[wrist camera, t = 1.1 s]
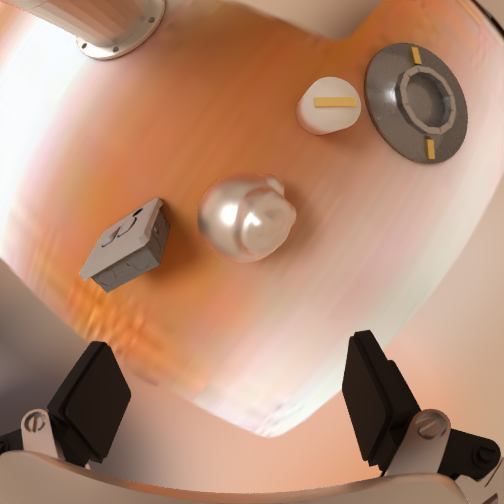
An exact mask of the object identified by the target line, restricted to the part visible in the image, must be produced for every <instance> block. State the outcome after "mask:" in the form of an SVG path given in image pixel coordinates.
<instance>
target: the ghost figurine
mask: <svg viewBox="0 0 504 504" xmlns="http://www.w3.org/2000/svg"><path fill="white" fill-rule="evenodd" d="M284 191H285V189H284V185H283V183H282V182H281V181H280V180H279V179H278V178H277V177H276V176H274V175H272V174H266V175H258V174H255V173H250V172H236V173H231V174H228V175H225V176H223V177H221V178H219V179H218V180H216V181H215V182H214V183H213V184H212V185H211V186H210V187H209V188H208V189H207V190H206V192H205V193H204V195H203V197H202V199H201V201H200V204H199V207H198V213H197V222H198V228H199V232H200V234H201V237H202V239H203V240H204V242H205V244H206V245H207V246H208V247H209V249H210V250H211V251H213V252H214V253H215V254H216V255H218V256H219V257H221V258H223V259H225V260H228V261H231V262H236V263H250V262H255V261H258V260H261V259H263V258H265V257H267V256H268V255H270V254H271V253H272V252H273V251H275V250H276V249H277V248H278V247H279V246H280V245H282V244H283V242H284V241H285V240H286V238H287V237H288V235H289V232H290V229H291V226H292V225H293V224H294V223H295V221H296V210H295V208H294V206H293V205H292V204H291V203H289V202H288V201H287V200H286V199H285V197H284Z"/></svg>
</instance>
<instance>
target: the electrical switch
mask: <svg viewBox="0 0 504 504" xmlns="http://www.w3.org/2000/svg"><path fill="white" fill-rule="evenodd" d="M162 205H163V202H162V201H161V200H160V199H159V198H155V199H153V200H152V201H150V202H148V203H147V204H145V205H143V206H142V207H140V208H139V209H137V210H135V211H134V212H132V213H131V214H129V215H128V216H126V217H124V218H123V219H121V220H120V221H118V222H117V223H115V224H114V225H112V226H111V227H109V228H108V229H107V230H105V231H104V232H103V233H102V235H101V236H100V238H99V240H98V241H97V243H96V245H95V246H94V248H93V250H92V252H91V253H90V255H89V257H88V259H87V260H86V262H85V264H84V266H83V268H82V270H81V271H80V275H81V277H82V278H83V279H84V281H85V280H87V279H89V278H90V277H91V278H93V280H94V281H95V282H96V283H97V284H99V285H100V286H101V287H102V288H103V289H104V290H105V291H106V292H107V293H108V292H110V291H111V290H113V289H115V288H117V287H119V286H121V285H123V284H124V283H126V282H128V281H130V280H132V279H134V278H136V277H138V276H140V275H141V274H143V273H145V272H147V271H149V270H151V269H153V268H155V267H157V266H159V265H160V264H161V260H162V256H163V252H164V248H165V244H166V240H167V236H168V232H169V228H170V225H169V224H168V223H167V221H166V220H165V218H164V216H163V214H162V213H161V211H160V210H159V208H160V207H162ZM157 233H158V234H157ZM154 257H155V258H156V259H157V260H156V259H155V258H154ZM123 261H124V262H123ZM159 263H160V264H159ZM116 272H117V273H116Z"/></svg>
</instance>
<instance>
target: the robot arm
mask: <svg viewBox="0 0 504 504" xmlns="http://www.w3.org/2000/svg"><path fill="white" fill-rule="evenodd" d="M0 2H3V3H6V4H9V5H12V6H14V7H16V8H19V9H21V10H24V11H26V12H28V13H30V14H33V15H35V16H37V17H39V18H41V19H44V20H46V21H48V22H50V23H52V24H54V25H56V26H58V27H60V28H62V29H64V30H66V31H68V32H70V33H71V34H73V35H75V36H77V44H78V47H79V49H80V50H81V52H82V53H84V54H85V55H86V56H88V57H90V58H93V59H97V60H107V59H113V58H116V57H119V56H122V55H124V54H126V53H128V52H130V51H132V50H133V49H135V48H136V47H138V46H139V45H140V44H142V43H143V42H144V41H145V40H146V39H147V38H148V37H149V36H150V35H151V34H152V33H153V32H154V30H155V29H156V28H157V26H158V25H159V23H160V21H161V19H162V17H163V14H164V11H165V0H0ZM342 392H343V396H344V399H345V402H346V405H347V409H348V412H349V415H350V418H351V422H352V425H353V428H354V431H355V435H356V438H357V442H358V445H359V448H360V451H361V455H362V458H363V460H364V461H367V460H368V463H369V467H370V466H374V465H378V466H379V470H381V471H382V472H381V474H380V476H379V477H378V478H373V479H368V480H363V481H357V482H353V483H347V484H342V485H336V486H331V487H324V488H317V489H309V490H300V491H290V492H277V493H253V494H235V493H234V494H233V493H211V492H198V491H188V490H179V489H172V488H165V487H158V486H153V485H148V484H143V483H138V482H133V481H128V480H125V479H121V478H117V477H113V476H109V475H106V474H102V473H99V472H96V471H93V470H90V467H89V465H88V460H89V459H90V460H91V461H94V462H98V463H102V461H103V458H105V457H107V455H108V453H109V450H110V447H111V445H112V442H113V440H114V437H115V435H116V432H117V430H118V427H119V425H120V422H121V420H122V417H123V415H124V413H125V410H126V408H127V406H128V403H129V401H130V398H131V391H130V389H129V387H128V385H127V383H126V381H125V379H124V377H123V374H122V372H121V370H120V368H119V365H118V363H117V361H116V359H115V356H114V354H113V352H112V349H111V347H110V346H108V345H107V343H106V342H99V341H92V342H91V343H90V345H89V346H88V347H87V349H86V350H85V351H84V353H83V354H82V356H81V357H80V358H79V360H78V361H77V363H76V364H75V366H74V367H73V369H72V370H71V371H70V373H69V374H68V376H67V377H66V379H65V380H64V382H63V383H62V384H61V386H60V387H59V389H58V391H57V392H56V394H55V395H54V397H53V398H52V400H51V401H50V403H49V404H48V406H47V408H48V410H49V412H48V414H47V413H46V412H45V411H44V410H41V409H35V410H32V411H30V412H28V413H27V414H26V415H25V416H24V418H23V420H22V423H21V429H19V430H16V431H14V432H11V433H8V434H5V435H3V436H0V504H469V503H470V504H504V457H502V456H501V452H500V448H499V446H498V445H497V444H496V443H495V442H494V441H493V440H490V439H487V438H483V437H480V436H476V435H472V434H468V433H465V432H462V431H459V430H455V429H452V428H451V423H450V420H449V418H448V417H447V415H445V414H444V413H443V412H441V411H439V410H436V409H426V410H423V411H421V409H420V407H419V405H418V404H417V401H416V400H415V398H414V396H413V394H412V392H411V390H410V389H409V387H408V385H407V383H406V381H405V380H404V378H403V376H402V374H401V372H400V371H399V369H398V367H397V366H396V364H395V362H394V361H393V360H387V358H386V356H385V354H384V353H383V351H382V349H381V347H380V346H379V344H378V342H377V340H376V339H375V337H374V335H373V334H372V332H371V331H370V330H365V331H359V332H355V334H354V336H351V337H350V339H349V346H348V353H347V359H346V366H345V372H344V378H343V383H342ZM466 498H467V499H468V501H467V499H466Z"/></svg>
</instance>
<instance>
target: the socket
mask: <svg viewBox="0 0 504 504" xmlns="http://www.w3.org/2000/svg"><path fill="white" fill-rule="evenodd" d="M364 95H365V101H366V105H367V108H368V112H369V114H370V117H371V119H372V121H373V123H374V125H375V127H376V129H377V130H378V132H379V133H380V134H381V136H382V137H383V138H384V140H385V141H386V142H387V143H388V144H389V145H390V146H391V147H392V148H393V149H394V150H396V151H397V152H398V153H400V154H401V155H403V156H404V157H406V158H408V159H411V160H413V161H417V162H422V163H439V162H443V161H445V160H447V159H449V158H450V157H452V156H453V155H454V154H455V153H456V152H457V151H458V149H459V148H460V146H461V145H462V143H463V141H464V138H465V135H466V131H467V123H468V114H467V106H466V101H465V98H464V94H463V92H462V89H461V87H460V85H459V83H458V81H457V79H456V77H455V76H454V74H453V73H452V71H451V70H450V69H449V68H448V66H447V65H446V64H445V63H444V62H443V61H442V60H441V59H440V58H438V57H437V56H436V55H434V54H433V53H432V52H430V51H428V50H427V49H425V48H422V47H420V46H417V45H414V44H408V43H397V44H392V45H390V46H387V47H385V48H384V49H382V50H381V51H379V52H378V53H377V54H376V55H375V56H374V57H373V58H372V60H371V61H370V63H369V65H368V67H367V70H366V73H365V79H364Z"/></svg>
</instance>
